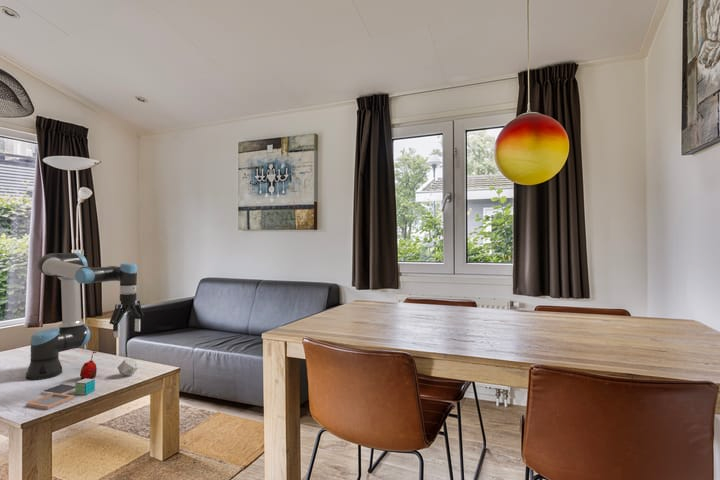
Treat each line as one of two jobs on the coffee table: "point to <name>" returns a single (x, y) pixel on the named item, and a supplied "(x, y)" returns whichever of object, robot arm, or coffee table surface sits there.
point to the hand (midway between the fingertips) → (127, 334)
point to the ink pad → (59, 389)
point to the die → (127, 367)
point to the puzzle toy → (84, 386)
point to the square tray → (50, 401)
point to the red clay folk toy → (88, 370)
